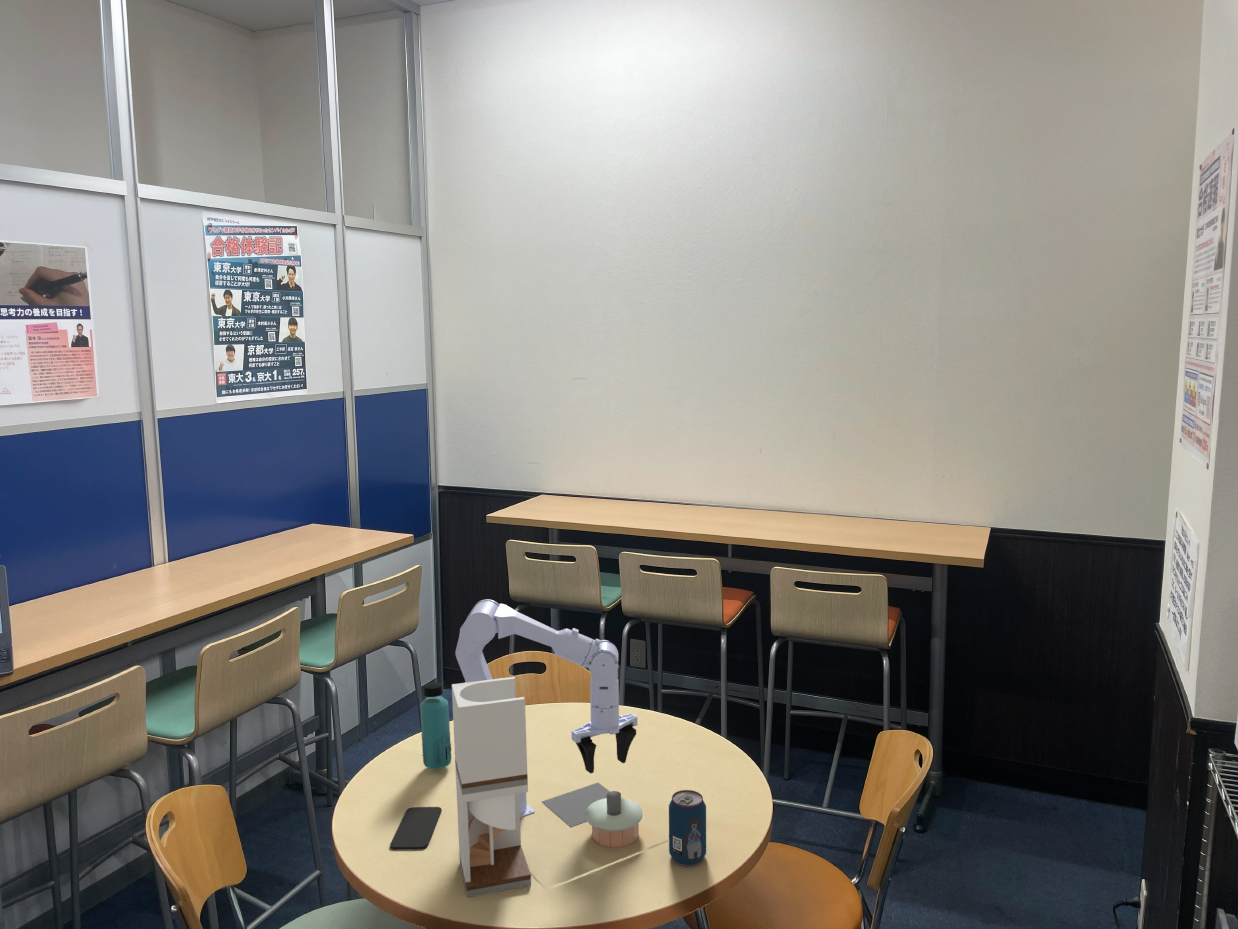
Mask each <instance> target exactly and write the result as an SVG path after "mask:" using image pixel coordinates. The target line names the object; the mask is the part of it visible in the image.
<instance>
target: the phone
mask: <svg viewBox="0 0 1238 929" xmlns="http://www.w3.org/2000/svg"><path fill="white" fill-rule="evenodd" d="M442 810H443V809H442V808H441V807H440V806H413V807H412V806H411V807H408V808H407V809H406V810H405V812H404V813H403V816H402V818H401V820H400V822H399V825H398V827H397V829H396V831H395V833H394V835H393V838H392V840H391V842H390V843H389V847H390V849H391V850H394V851H395V850H396V851H397V850H398V851H399V850H401V851H402V850H405V851H406V850H410V851H411V850H415V851H416V850H425V849H427V848H428V847H429V845H430V842H431V841H432V840H431V839H432V837H433V835H434V832H435V830H436V827H437V825H438V822H439V819H440V817H441V814H442Z"/></svg>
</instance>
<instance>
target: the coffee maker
mask: <svg viewBox="0 0 1238 929" xmlns="http://www.w3.org/2000/svg"><path fill="white" fill-rule="evenodd" d="M516 689H517V688H516V677H515V676H510V677H502V678H500V677H499V678H492V680H483V681H475V682H467V683H466V682H461V683H460V682H459V683H452V684H451V698H452V699H451V700H452V719H453V720H452V721H453V737H454V738H453V741H454V742H453V743H454V764H455V765H454V766H455V780H456V781H455V785H456V787H455V789H456V805H457V806H456V807H457V808H456V809H457V826H458V827H457V830H458V831H457V833H458V852H459V854H458V855H459V866H460V871H461V875H462V880H463V886H464V890H465V893H466V897H467V898H470V897H474V896H476V897H477V896H480V895H487V894H491V893H496V892H497V893H498V892H501V891H502V892H503V891H507V890H512V889H518V888H523V887H528V886H531V885H532V873H531V871H530V868H529V865H528V863H527V859H526V856H525V852H524V850H523V846H522V843H521V842H522V840H521V839H522V836H521V835H522V834H521V818H520V802H519V793H525V792H526V793H528V792H529V788H528V786H529V783H528V780H529V779H528V757H527V756H528V750H527V721H526V720H527V718H526V699H525V696H521V697H517V694H516V693H517V692H516V691H517V690H516Z"/></svg>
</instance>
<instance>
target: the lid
mask: <svg viewBox="0 0 1238 929" xmlns="http://www.w3.org/2000/svg"><path fill="white" fill-rule="evenodd" d="M609 791H610V792H608V793H607V798H605V799H601V800H598V801H596V802H594V803H592V804H591V805H590V806H589V807H588V808H587V810H586V819H587V823H588V824H589V825H590V826H591V827H592V826H593V827H595V828H597V829H600V830H605V831H622V830H626V829H630V828H632V827H634V826H636V825H637V824H638V823H639V824H640V822H641V821H642V820H643V809H642V806H640V804H639V803H638V802H636V801H634V800H633V799H632V800H631V799H629V798H624V797H622V793H621V792H620V791H617V790H609Z"/></svg>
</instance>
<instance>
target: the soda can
mask: <svg viewBox="0 0 1238 929" xmlns="http://www.w3.org/2000/svg"><path fill="white" fill-rule="evenodd" d="M668 852H669V855H670V856H671V858H672V860H673V862H675V863H676V864H678V865H680V866H684V867H694V866H696V865H697V866H698V865H699V864H701V863H702V861H703V860H704V858H705V856H706V855H707V804H706V803H705V801H704V797H703V795H702V794H701V793H700V792H698V791H695V790H693V789H692V790H691V789H683V790H682V789H681V790H677V791H676V792H675V793H673V794H672V796H671V800H670V801H669V804H668Z"/></svg>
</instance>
